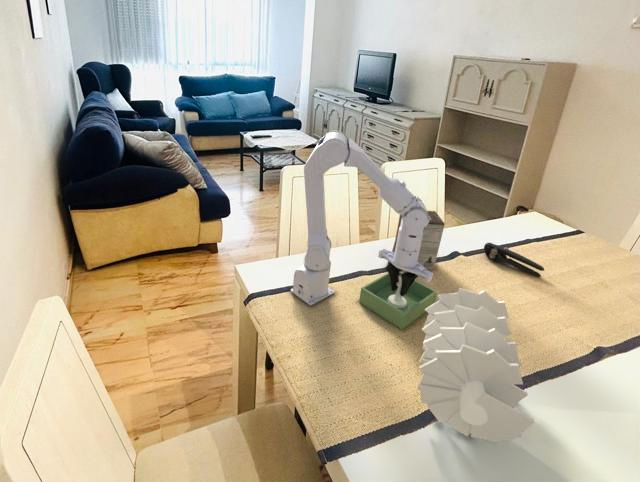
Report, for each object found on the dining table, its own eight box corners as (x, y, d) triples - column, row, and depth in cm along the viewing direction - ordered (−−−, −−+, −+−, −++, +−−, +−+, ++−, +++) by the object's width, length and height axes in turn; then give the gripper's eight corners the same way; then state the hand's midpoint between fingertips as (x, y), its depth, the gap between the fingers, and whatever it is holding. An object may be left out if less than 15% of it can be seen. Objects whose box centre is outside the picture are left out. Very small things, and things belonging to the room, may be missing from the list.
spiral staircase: (431, 451, 70) (434, 351, 91) (545, 460, 61) (520, 348, 83) (401, 371, 65) (412, 286, 87) (520, 370, 57) (500, 276, 78)
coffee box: (406, 253, 128) (414, 209, 122) (425, 254, 128) (435, 210, 122) (414, 268, 119) (424, 222, 113) (435, 269, 119) (446, 223, 113)
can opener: (477, 257, 127) (481, 242, 125) (486, 251, 132) (490, 236, 130) (537, 282, 115) (542, 266, 113) (544, 274, 120) (550, 259, 118)
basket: (401, 329, 93) (405, 314, 91) (358, 301, 102) (361, 287, 101) (434, 305, 102) (437, 291, 101) (392, 282, 112) (394, 268, 110)
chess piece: (402, 310, 99) (409, 278, 95) (384, 302, 102) (390, 270, 98) (409, 301, 103) (416, 269, 99) (391, 294, 105) (397, 262, 102)
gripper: (443, 253, 93) (432, 300, 98) (392, 231, 103) (385, 273, 108) (428, 263, 89) (417, 310, 94) (376, 238, 99) (369, 282, 104)
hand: (399, 291), depth 101 cm, fingers closed on chess piece, 2 cm apart
